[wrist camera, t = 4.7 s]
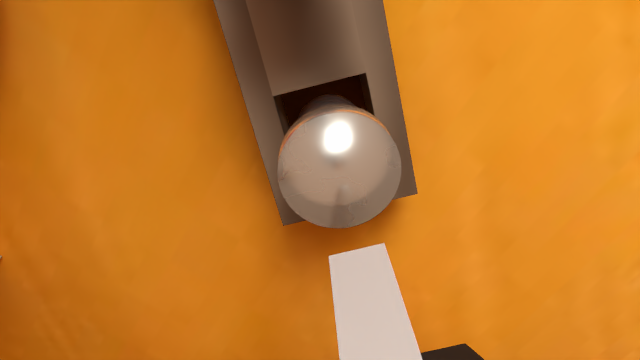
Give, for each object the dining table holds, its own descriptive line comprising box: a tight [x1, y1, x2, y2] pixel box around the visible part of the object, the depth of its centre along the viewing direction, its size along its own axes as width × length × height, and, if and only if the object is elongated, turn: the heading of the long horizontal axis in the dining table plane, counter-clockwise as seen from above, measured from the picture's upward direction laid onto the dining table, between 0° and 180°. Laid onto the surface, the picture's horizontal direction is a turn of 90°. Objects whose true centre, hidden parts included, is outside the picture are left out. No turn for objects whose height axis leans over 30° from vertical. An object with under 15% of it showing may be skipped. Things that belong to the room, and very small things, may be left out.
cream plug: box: [277, 94, 401, 228], centre depth 23 cm, size 5×5×7 cm
